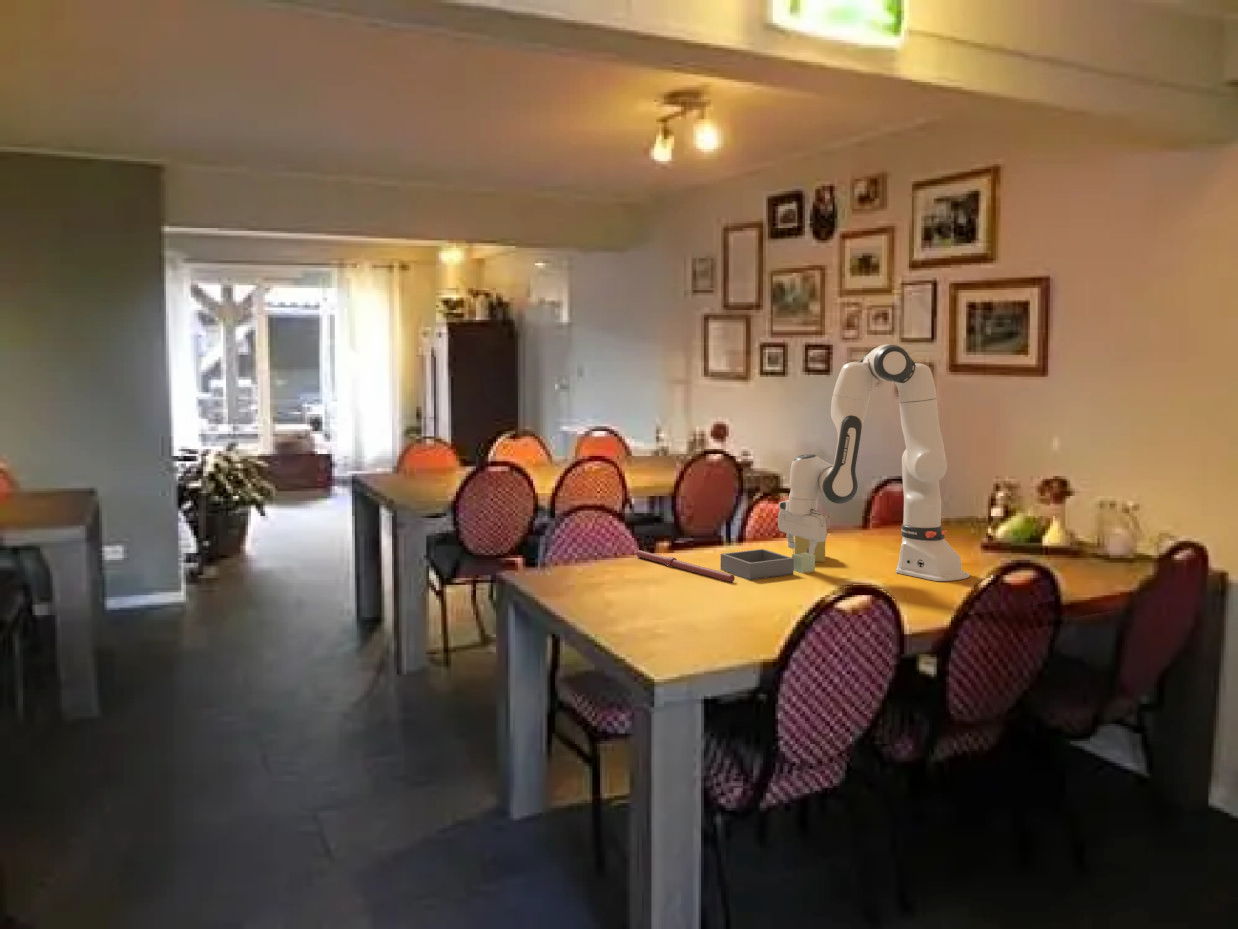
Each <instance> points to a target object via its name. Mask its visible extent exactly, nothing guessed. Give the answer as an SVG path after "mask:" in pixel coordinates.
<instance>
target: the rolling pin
mask: <svg viewBox="0 0 1238 929" xmlns="http://www.w3.org/2000/svg"><path fill="white" fill-rule="evenodd" d="M636 557H638V558H640V557H642V558H641V559H644V558H646V559H645V560H647V559H650V560H649V561H651V560H654V561H653V562H655V561H656V563H658V562H659V564H662V565H665V566H666V565H668V566H673V567H672V568H677V569H681V570H684V571H687V572H688V571H689V572H691V571H692V573H695V574H699V575H702V576H706V577H709V578H710V577H711V578H713V579H717V580H721V581H726V582H729V583H733V582H734V581H735V578H736V577H735V575H734V574H731V573H728V572H725V571H721V570H720V571H719V570H716V569H711V568H707V567H705V566H700V565H696V564H693V563H689V562H686V561H682V560H679V559H677V558H676V557H672V556H668V557H667V556H662V555H659V554H655V553H651V552H648V551H644V550H637V551H636ZM668 566H667V567H668Z"/></svg>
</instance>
